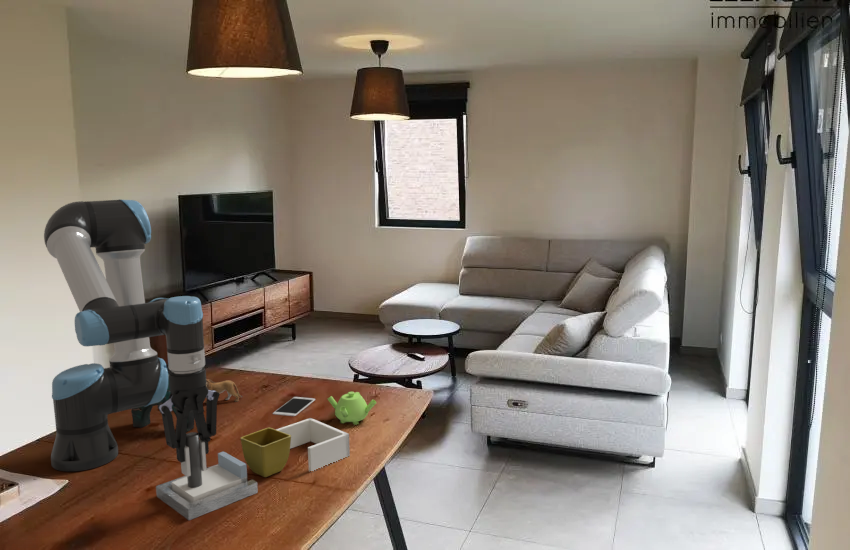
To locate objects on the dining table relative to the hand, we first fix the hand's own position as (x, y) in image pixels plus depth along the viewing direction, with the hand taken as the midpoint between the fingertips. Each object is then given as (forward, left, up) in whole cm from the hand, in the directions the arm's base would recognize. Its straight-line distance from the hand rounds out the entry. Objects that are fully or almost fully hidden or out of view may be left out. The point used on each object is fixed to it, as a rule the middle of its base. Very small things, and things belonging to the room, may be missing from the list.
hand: (194, 471), depth 149 cm
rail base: (+3, 0, -7) cm, 7 cm away
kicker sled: (+3, 0, -6) cm, 7 cm away
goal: (+31, 0, -7) cm, 32 cm away
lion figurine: (+34, +52, -7) cm, 63 cm away
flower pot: (+18, 0, -7) cm, 20 cm away
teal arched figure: (+14, +46, -7) cm, 49 cm away
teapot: (+53, +10, -7) cm, 54 cm away
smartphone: (+49, +32, -7) cm, 59 cm away
